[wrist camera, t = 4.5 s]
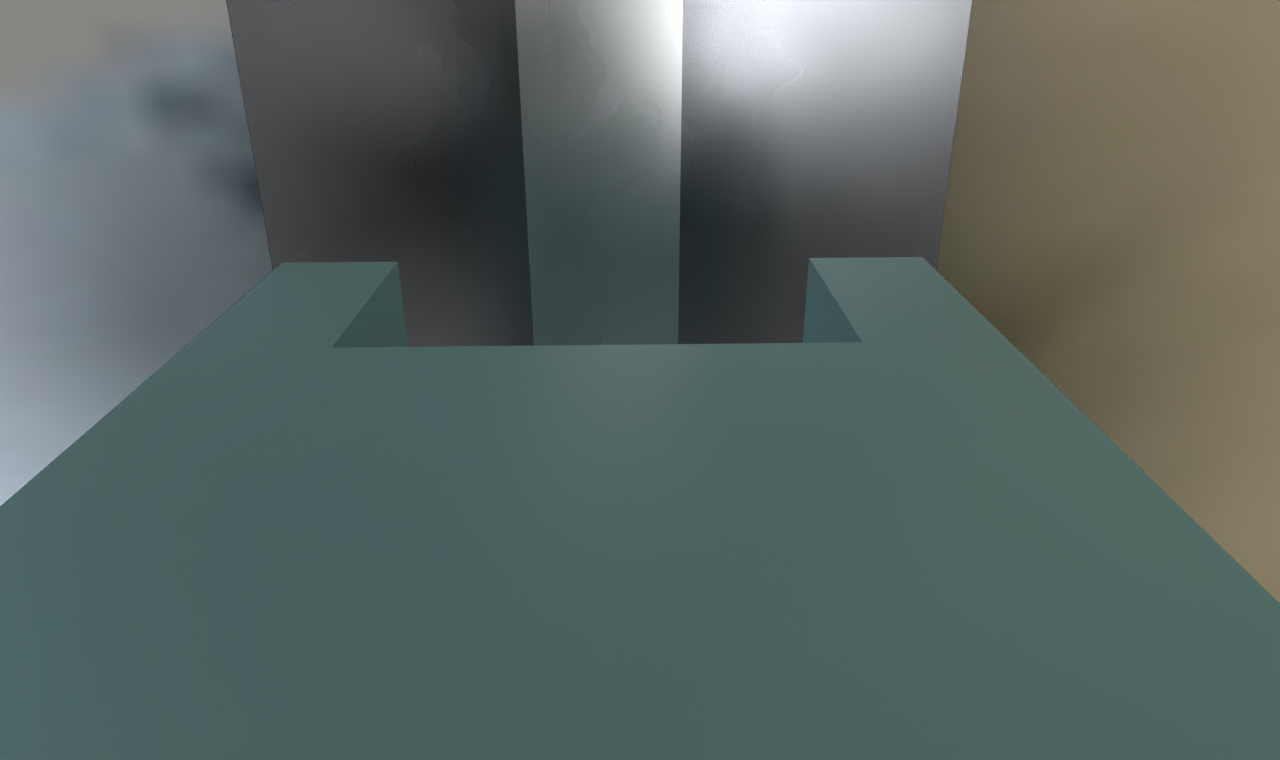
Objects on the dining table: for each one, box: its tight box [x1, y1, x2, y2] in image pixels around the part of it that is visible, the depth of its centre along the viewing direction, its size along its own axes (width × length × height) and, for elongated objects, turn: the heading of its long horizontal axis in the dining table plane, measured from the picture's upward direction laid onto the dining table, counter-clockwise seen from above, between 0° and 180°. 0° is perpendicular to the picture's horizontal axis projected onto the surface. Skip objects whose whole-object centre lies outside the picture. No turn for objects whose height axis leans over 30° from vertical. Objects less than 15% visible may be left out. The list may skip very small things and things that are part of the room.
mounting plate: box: [226, 0, 972, 347], centre depth 14 cm, size 20×10×2 cm, turn 0°
